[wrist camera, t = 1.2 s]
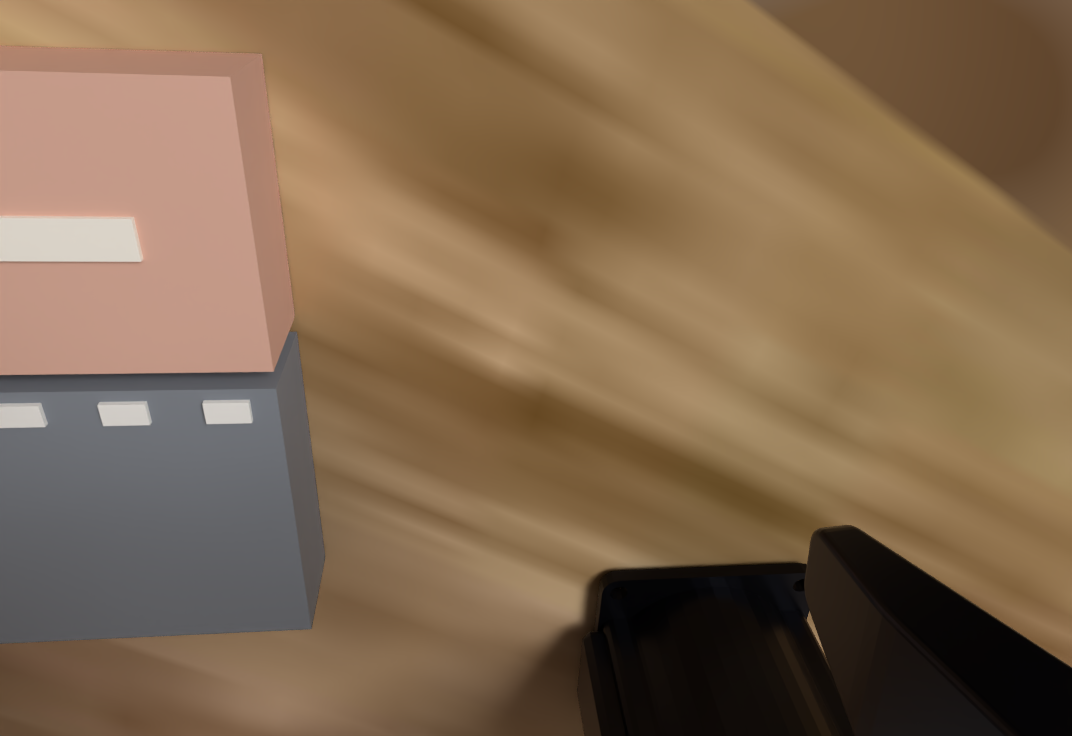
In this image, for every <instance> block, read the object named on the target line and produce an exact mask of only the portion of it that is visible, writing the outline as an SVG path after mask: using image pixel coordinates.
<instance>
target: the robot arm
mask: <svg viewBox="0 0 1072 736" xmlns="http://www.w3.org/2000/svg"><path fill="white" fill-rule="evenodd" d="M798 580H799V581H798ZM617 587H621V588H620V589H614V588H617ZM809 610H810V613H811V616H812V619H813V622H814V624H815V627H816V630H817V633H818V636H819V639H820V641H821V644H822V647H823V650H824V653H825V655H824V653H823V651H822V649H821V647H820V645H819V643H818V641H817V639H816V637H815V635H814V634H813V632H812V630H811V628H810V626H809V624H808V622H807V617H808V613H809ZM825 656H826V657H825ZM826 658H827V659H826ZM577 693H578V699H579V705H580V711H581V717H582V723H583V729H584V735H585V736H1072V667H1070V666H1069V665H1067V664H1066V663H1064V662H1063V661H1061V660H1060V659H1058V658H1057V657H1055V656H1053V655H1052V654H1050V653H1049V652H1047V651H1046V650H1044V649H1043V648H1041V647H1040V646H1038V645H1037V644H1035V643H1034V642H1032V641H1030V640H1029V639H1027V638H1026V637H1024V636H1023V635H1021V634H1020V633H1018V632H1017V631H1015V630H1014V629H1012V628H1010V627H1009V626H1007V625H1006V624H1004V623H1003V622H1001V621H1000V620H998V619H997V618H995V617H994V616H992V615H991V614H989V613H987V612H986V611H984V610H983V609H981V608H980V607H978V606H977V605H975V604H974V603H972V602H971V601H969V600H968V599H966V598H964V597H963V596H961V595H960V594H958V593H957V592H955V591H954V590H952V589H951V588H949V587H948V586H946V585H945V584H943V583H941V582H940V581H938V580H937V579H935V578H934V577H932V576H931V575H929V574H928V573H926V572H925V571H923V570H922V569H920V568H918V567H917V566H915V565H914V564H912V563H911V562H909V561H908V560H906V559H905V558H903V557H902V556H900V555H899V554H897V553H895V552H894V551H892V550H891V549H889V548H888V547H886V546H885V545H883V544H882V543H880V542H879V541H877V540H876V539H874V538H872V537H871V536H869V535H868V534H866V533H865V532H863V531H862V530H860V529H858V528H857V527H854V526H851V525H842V526H833V527H825V528H819V529H817V530H815V531H814V533H813V535H812V537H811V541H810V548H809V555H808V561H807V564H802V563H792V564H768V565H743V566H719V567H694V568H669V569H645V570H620V571H613V572H610V573H608V574H606V575H605V576H604V577H603V578H602V579H601V581H600V584H599V592H598V601H597V609H596V618H595V627H594V632H588V633H587V635H586V636H585V637H584V638H583V640H582V649H581V659H580V668H579V678H578V687H577Z"/></svg>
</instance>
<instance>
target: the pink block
mask: <svg viewBox="0 0 1072 736" xmlns="http://www.w3.org/2000/svg"><path fill="white" fill-rule="evenodd" d="M294 317H295V313H294V305H293V297H292V289H291V281H290V273H289V265H288V257H287V250H286V242H285V234H284V226H283V218H282V210H281V202H280V194H279V186H278V178H277V170H276V162H275V154H274V146H273V138H272V131H271V123H270V115H269V107H268V99H267V91H266V83H265V75H264V67H263V59H262V54H253V53H220V52H187V51H154V50H121V49H88V48H55V47H22V46H0V375H46V374H129V373H211V372H274V369H275V367H276V364H277V362H278V359H279V356H280V354H281V351H282V349H283V346H284V343H285V341H286V338H287V336H288V333H289V330H290V328H291V325H292V323H293V320H294Z"/></svg>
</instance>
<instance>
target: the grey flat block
mask: <svg viewBox="0 0 1072 736" xmlns="http://www.w3.org/2000/svg"><path fill="white" fill-rule="evenodd" d="M324 561H325V551H324V543H323V535H322V527H321V519H320V511H319V503H318V495H317V488H316V480H315V472H314V464H313V456H312V448H311V440H310V432H309V424H308V416H307V408H306V400H305V392H304V384H303V376H302V369H301V361H300V353H299V345H298V337H297V332H289V333H288V336H287V338H286V341H285V343H284V346H283V349H282V351H281V354H280V356H279V359H278V362H277V364H276V367H275V369H274V372H211V373H129V374H46V375H0V644H4V643H25V642H47V641H68V640H89V639H111V638H132V637H153V636H175V635H196V634H218V633H239V632H260V631H282V630H303V629H312V624H313V619H314V613H315V608H316V603H317V598H318V593H319V587H320V582H321V577H322V572H323V567H324Z"/></svg>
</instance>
